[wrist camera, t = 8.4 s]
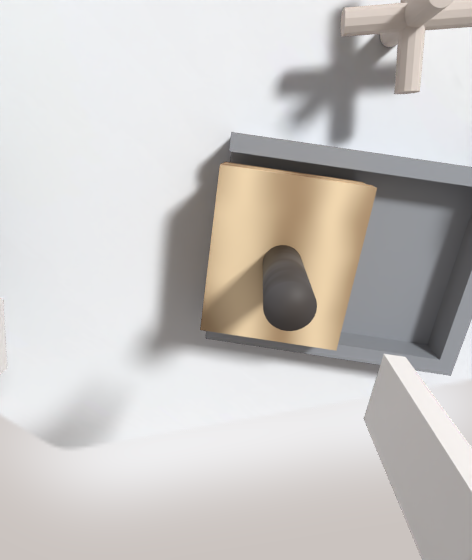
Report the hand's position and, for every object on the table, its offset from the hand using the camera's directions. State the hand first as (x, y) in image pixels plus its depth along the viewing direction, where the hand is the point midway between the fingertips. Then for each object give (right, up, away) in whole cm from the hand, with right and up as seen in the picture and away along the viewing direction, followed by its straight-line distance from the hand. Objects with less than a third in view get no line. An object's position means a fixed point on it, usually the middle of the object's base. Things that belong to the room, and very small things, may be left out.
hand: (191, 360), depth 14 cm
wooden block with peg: (+6, +6, +24) cm, 25 cm away
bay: (+12, +6, +26) cm, 29 cm away
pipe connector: (+15, +24, +20) cm, 34 cm away
